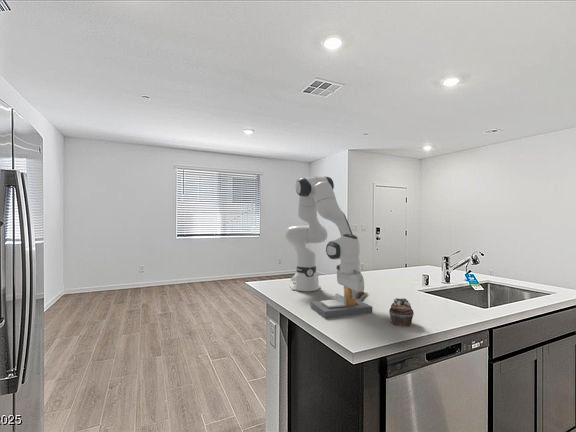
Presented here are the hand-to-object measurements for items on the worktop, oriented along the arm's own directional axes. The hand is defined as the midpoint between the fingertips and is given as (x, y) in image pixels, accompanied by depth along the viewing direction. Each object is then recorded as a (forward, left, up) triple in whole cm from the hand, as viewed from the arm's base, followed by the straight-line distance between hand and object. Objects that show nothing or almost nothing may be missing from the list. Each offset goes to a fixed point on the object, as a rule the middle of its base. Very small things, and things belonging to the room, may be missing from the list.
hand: (350, 297), depth 144 cm
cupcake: (+23, +11, -6) cm, 26 cm away
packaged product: (-19, +14, -7) cm, 25 cm away
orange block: (0, 0, -5) cm, 5 cm away
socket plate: (0, -5, -6) cm, 8 cm away
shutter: (0, -9, -3) cm, 9 cm away
